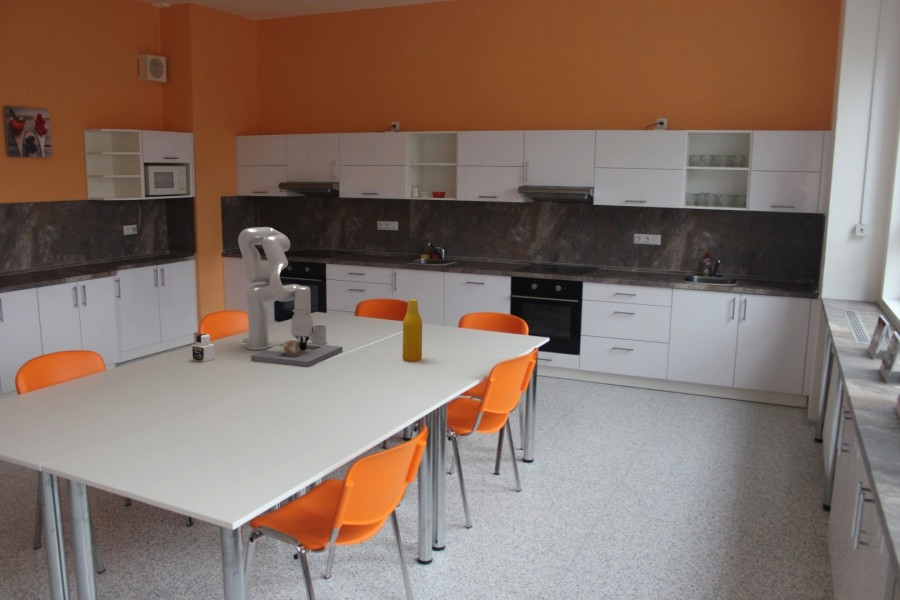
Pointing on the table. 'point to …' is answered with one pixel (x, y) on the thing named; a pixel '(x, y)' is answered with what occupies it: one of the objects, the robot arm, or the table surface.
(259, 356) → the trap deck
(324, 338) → the cup
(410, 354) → the beer bottle
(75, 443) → the table surface
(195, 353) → the medicine bottle
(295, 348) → the beech block
